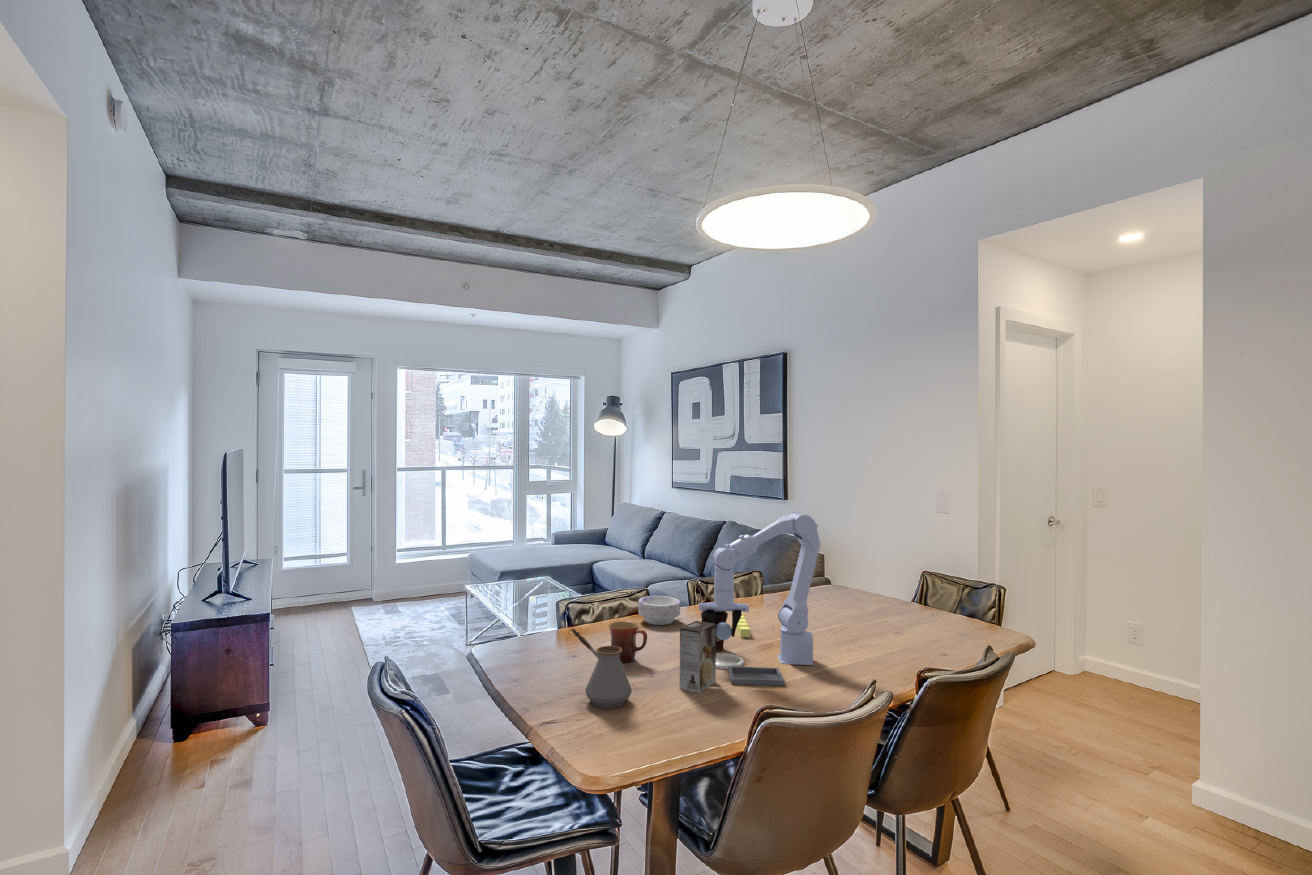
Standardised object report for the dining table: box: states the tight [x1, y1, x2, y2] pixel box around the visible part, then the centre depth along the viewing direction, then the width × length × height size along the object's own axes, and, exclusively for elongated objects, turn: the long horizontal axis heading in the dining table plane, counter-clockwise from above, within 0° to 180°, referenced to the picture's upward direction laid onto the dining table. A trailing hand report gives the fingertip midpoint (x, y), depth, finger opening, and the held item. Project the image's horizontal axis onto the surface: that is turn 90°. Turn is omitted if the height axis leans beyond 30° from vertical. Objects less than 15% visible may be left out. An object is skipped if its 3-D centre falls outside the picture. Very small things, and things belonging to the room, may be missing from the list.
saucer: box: [716, 652, 745, 670], centre depth 191 cm, size 12×12×1 cm
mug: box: [608, 620, 648, 664], centre depth 192 cm, size 12×9×10 cm
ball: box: [716, 622, 732, 641], centre depth 191 cm, size 5×5×5 cm
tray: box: [727, 666, 785, 687], centre depth 178 cm, size 14×10×2 cm
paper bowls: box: [638, 595, 681, 626], centre depth 236 cm, size 15×15×8 cm
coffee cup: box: [700, 611, 729, 653], centre depth 203 cm, size 9×8×13 cm
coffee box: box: [679, 620, 717, 694], centre depth 173 cm, size 9×6×16 cm
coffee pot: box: [568, 628, 633, 709], centre depth 165 cm, size 21×12×15 cm, turn 45°
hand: (723, 635), depth 191 cm, fingers closed on ball, 5 cm apart
